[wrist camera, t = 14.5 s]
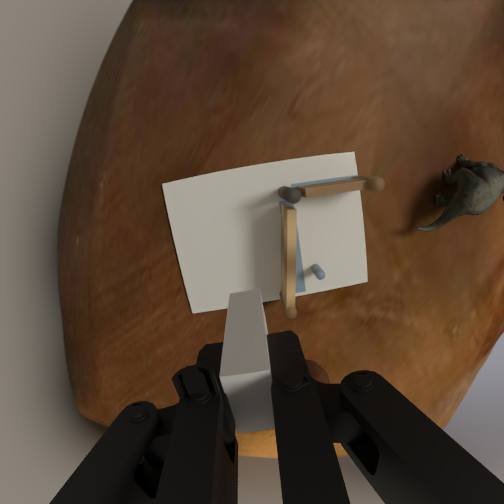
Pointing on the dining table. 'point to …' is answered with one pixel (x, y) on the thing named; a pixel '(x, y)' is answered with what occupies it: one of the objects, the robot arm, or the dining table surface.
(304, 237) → the card
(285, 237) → the fence panel
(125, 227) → the dining table surface
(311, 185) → the fence fixed
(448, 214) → the dinosaur figurine
